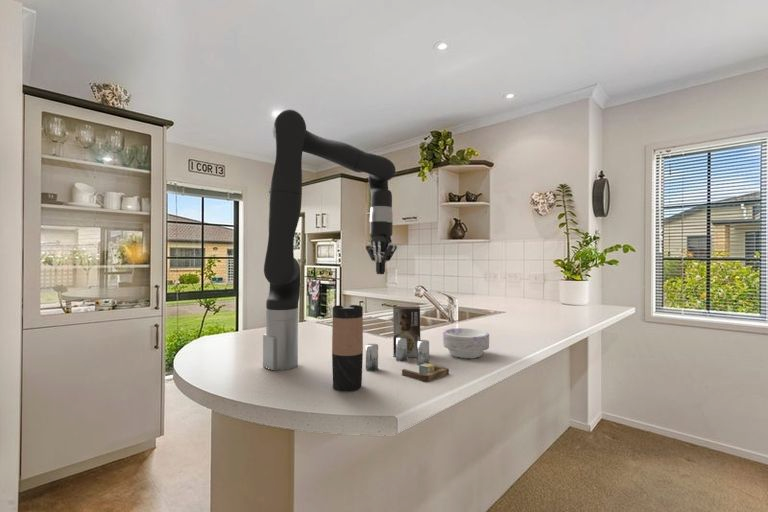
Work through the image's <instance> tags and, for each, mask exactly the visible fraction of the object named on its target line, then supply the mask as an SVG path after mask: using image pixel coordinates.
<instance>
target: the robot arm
mask: <svg viewBox="0 0 768 512" xmlns="http://www.w3.org/2000/svg"><path fill="white" fill-rule="evenodd" d="M272 136H273V139H274V140H275V153H276V154H275V161H274V165H273V169H272V173H271V174H272V175H271V181H270V188H269V201H268V205H269V206H268V208H269V209H268V238H267V247H266V252H265V258H264V264H263V274H264V276H265V279H266V281H267V282H268V283H269V292H268V296H267V299H266V302H265V303H266V304H265V306H266V309H265V313H266V314H265V315H266V316H265V334H263V335H262V367H263V366H264V367H263V368H265V367H267V368H269V369H268V370H270V369H271V370H270V371H272V370H275V371H283V370H282V369H286V370H290V368H291V369H294V368H296V367H298V364H299V300H300V296H301V266H300V263H299V261H298V260H297V259H296V258H295V256H294V255H295V254H294V252H295V251H294V245H295V243H294V241H295V234H296V231H297V227H298V225H299V220H300V218H301V217H300V216H301V211H302V198H303V170H302V169H303V167H302V161H303V160H302V158H303V153H306V154H309V155H313V156H316V157H319V158H322V159H324V160H327V161H329V162H331V163H335V164H337V165H339V166H341V167H343V168H345V169H348V170H351V171H353V172H355V173H366V174H368V175H367V176H368V185H369V191H370V212H369V235H370V236H371V239H370V244H369V245H366V246H365V249H366V252H367V253H368V256H369V258H370V259H371V261H372V262H375V272H376V274H377V275H385V273H386V263H387V262H389V261H391V259H392V258H393V255H394V254H395V252H396V250H397V248H398V246H397V245H396V244H395V245H394V244H393V243H392V238H391V237H392V236H393V227H394V226H393V220H394V219H393V216H394V215H393V194H392V191H391V190H390V189H389V184H388V183H389V181H390V180H392V179H393V178H394V177H395V174H396V166H395V164H394V163H393V162H392V161H391V160H390V159H388V158H387V157H384V156H382V155H377V154H374V153H369V152H366V151H364V150H361V149H360V148H357V147H355V146H353V145H351V144H348V143H346V142H343V141H342V142H341V141H338V140H334V139H329V138H326V137H322V136H319V135H318V134H317V135H316V134H314V133H312V132H310V131H309V130H307V124H306V121H305V119H304V117H303V116H302V114H300V112H298V111H297V110H295V109H289V108H288V109H285V110H282V111H281V112H279V113H278V115H277V116H276V117H275V119H274V123H273V126H272ZM267 368H266V369H267ZM279 369H280V370H279Z"/></svg>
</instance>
